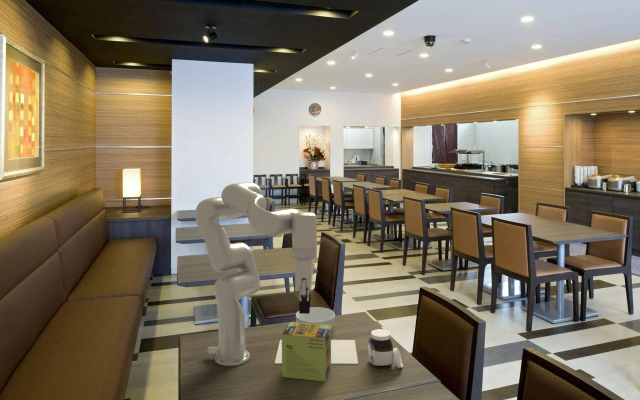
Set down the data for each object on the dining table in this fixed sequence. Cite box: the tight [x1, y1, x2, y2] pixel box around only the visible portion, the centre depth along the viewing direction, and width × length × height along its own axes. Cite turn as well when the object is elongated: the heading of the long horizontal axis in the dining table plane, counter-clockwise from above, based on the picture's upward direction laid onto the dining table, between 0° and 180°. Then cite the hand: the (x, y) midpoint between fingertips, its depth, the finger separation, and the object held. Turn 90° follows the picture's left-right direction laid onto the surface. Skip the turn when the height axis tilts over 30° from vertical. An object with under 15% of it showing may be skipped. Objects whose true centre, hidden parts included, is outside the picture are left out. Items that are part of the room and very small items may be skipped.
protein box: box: [281, 321, 332, 382], centre depth 158 cm, size 10×15×16 cm
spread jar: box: [367, 328, 404, 369], centre depth 164 cm, size 12×11×12 cm
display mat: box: [274, 339, 359, 365], centre depth 175 cm, size 30×20×1 cm, turn 89°
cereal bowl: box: [295, 306, 336, 328], centre depth 195 cm, size 17×17×7 cm
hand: (304, 309), depth 143 cm, fingers open, 5 cm apart
